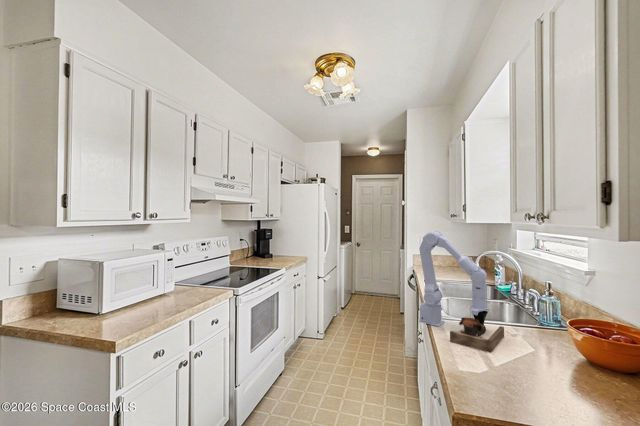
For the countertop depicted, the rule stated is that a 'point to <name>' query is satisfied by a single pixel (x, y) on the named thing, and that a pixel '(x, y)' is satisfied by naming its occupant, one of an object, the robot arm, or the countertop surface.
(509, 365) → the countertop surface
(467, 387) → the countertop surface
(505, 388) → the countertop surface
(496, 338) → the walnut corner walls
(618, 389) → the countertop surface
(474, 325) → the pottery mug
